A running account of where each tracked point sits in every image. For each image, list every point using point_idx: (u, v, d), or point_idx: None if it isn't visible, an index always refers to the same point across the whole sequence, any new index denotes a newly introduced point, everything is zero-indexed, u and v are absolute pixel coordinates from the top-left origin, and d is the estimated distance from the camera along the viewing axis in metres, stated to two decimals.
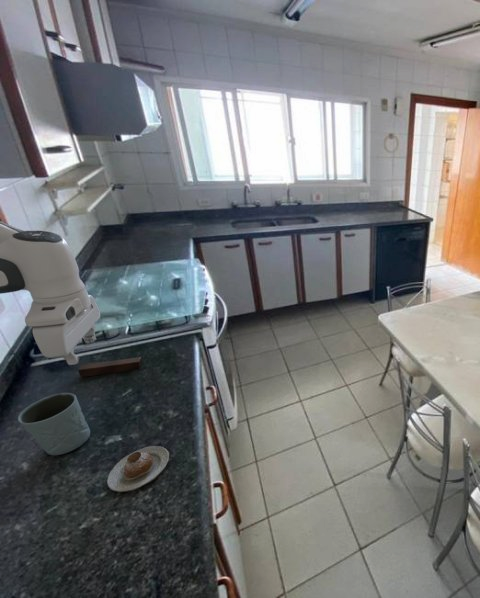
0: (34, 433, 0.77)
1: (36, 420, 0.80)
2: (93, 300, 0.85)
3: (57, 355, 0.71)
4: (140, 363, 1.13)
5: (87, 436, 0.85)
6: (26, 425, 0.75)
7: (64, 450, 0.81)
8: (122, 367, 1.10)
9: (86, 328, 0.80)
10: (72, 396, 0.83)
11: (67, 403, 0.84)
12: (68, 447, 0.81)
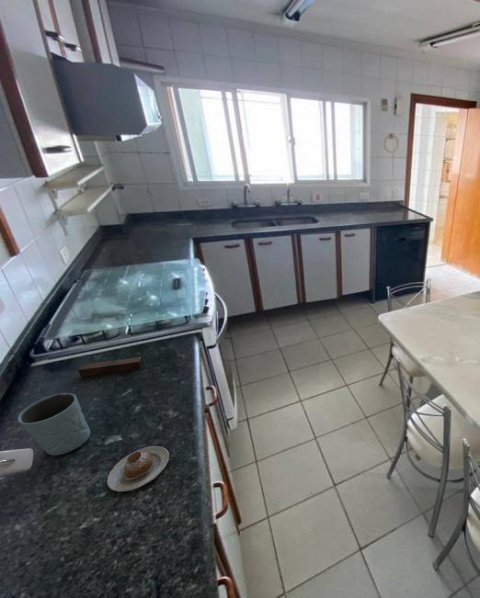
0: (34, 433, 0.77)
1: (36, 420, 0.80)
2: None
3: None
4: (140, 363, 1.13)
5: (87, 436, 0.85)
6: (26, 425, 0.75)
7: (64, 450, 0.81)
8: (122, 367, 1.10)
9: None
10: (72, 396, 0.83)
11: (67, 403, 0.84)
12: (68, 447, 0.81)
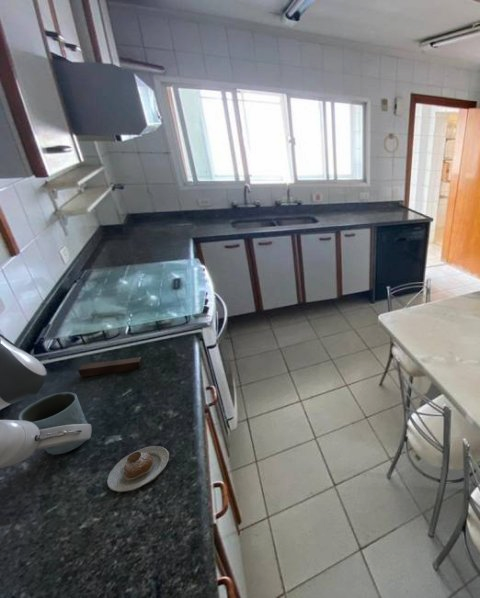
0: None
1: (36, 419, 0.81)
2: (70, 441, 0.72)
3: None
4: (140, 363, 1.13)
5: None
6: None
7: (65, 449, 0.81)
8: (122, 367, 1.10)
9: (37, 449, 0.73)
10: (72, 395, 0.84)
11: (67, 402, 0.84)
12: (69, 446, 0.82)
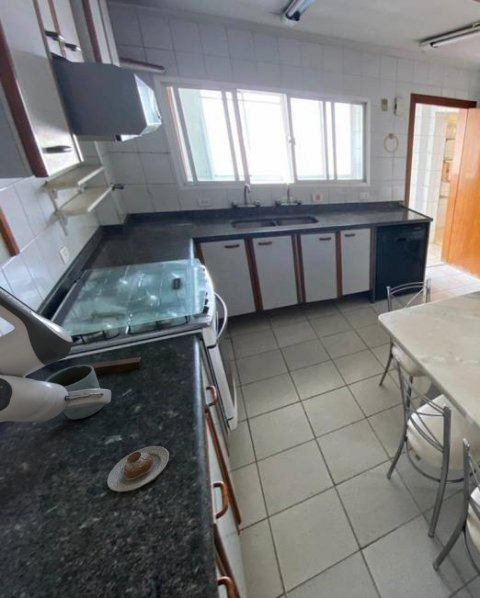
0: None
1: None
2: (93, 403, 0.82)
3: None
4: (140, 363, 1.13)
5: None
6: None
7: (86, 413, 0.92)
8: (122, 367, 1.10)
9: (65, 410, 0.83)
10: (87, 367, 0.94)
11: (82, 374, 0.94)
12: (90, 410, 0.92)
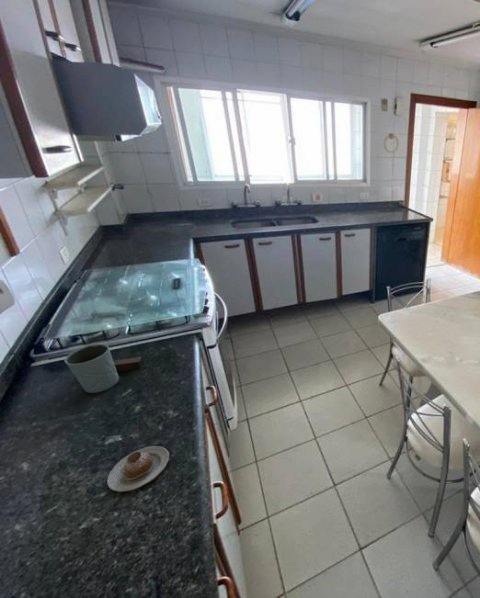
0: (80, 373, 0.96)
1: None
2: (3, 284, 0.77)
3: None
4: (140, 363, 1.13)
5: (118, 378, 1.06)
6: (75, 365, 0.95)
7: (103, 388, 1.01)
8: (122, 367, 1.10)
9: None
10: (103, 346, 1.03)
11: (98, 353, 1.04)
12: (106, 385, 1.02)
